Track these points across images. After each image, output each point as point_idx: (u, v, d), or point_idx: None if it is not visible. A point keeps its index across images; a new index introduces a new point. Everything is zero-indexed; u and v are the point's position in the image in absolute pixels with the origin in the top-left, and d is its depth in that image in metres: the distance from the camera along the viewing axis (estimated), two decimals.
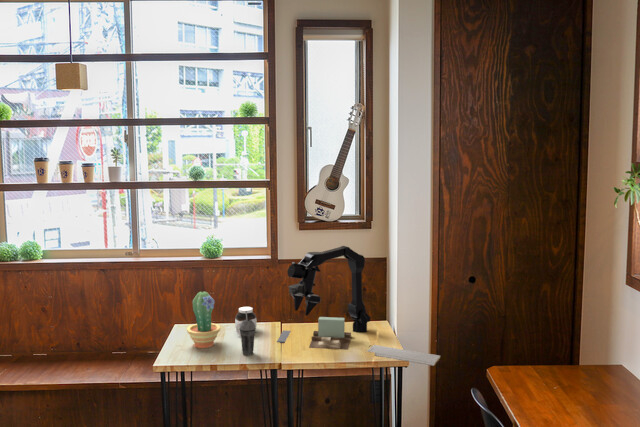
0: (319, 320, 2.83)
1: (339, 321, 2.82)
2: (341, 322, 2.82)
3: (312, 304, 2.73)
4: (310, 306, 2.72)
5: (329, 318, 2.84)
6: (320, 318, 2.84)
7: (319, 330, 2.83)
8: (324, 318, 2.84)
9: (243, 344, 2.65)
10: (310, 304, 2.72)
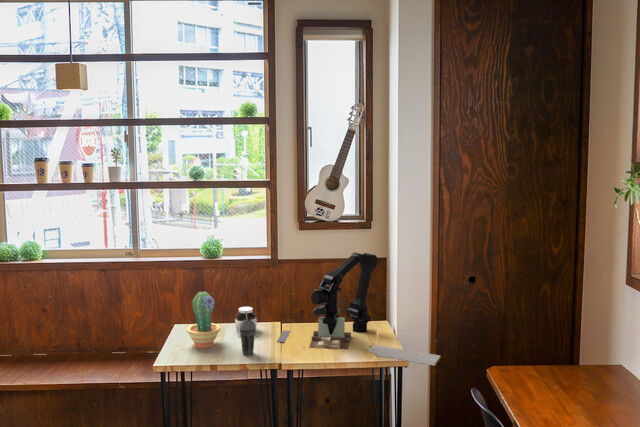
0: (319, 320, 2.83)
1: (339, 321, 2.82)
2: (341, 322, 2.82)
3: (333, 323, 2.81)
4: (331, 325, 2.81)
5: None
6: (320, 318, 2.84)
7: (319, 330, 2.83)
8: None
9: (243, 344, 2.65)
10: (331, 323, 2.81)
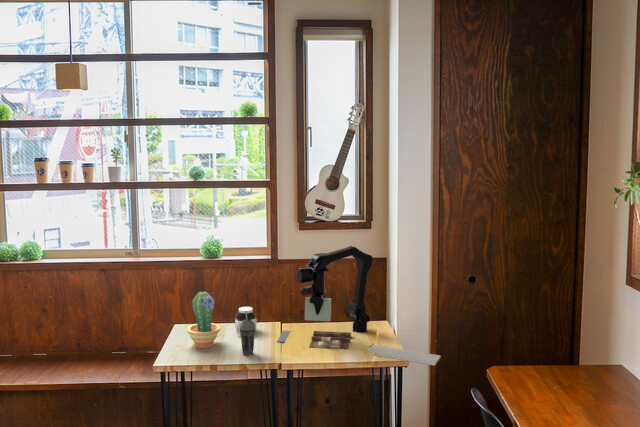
0: (306, 300, 2.83)
1: (326, 301, 2.82)
2: (328, 302, 2.82)
3: (319, 303, 2.81)
4: (318, 305, 2.81)
5: None
6: (307, 298, 2.84)
7: (305, 310, 2.83)
8: None
9: (243, 344, 2.65)
10: (317, 303, 2.81)
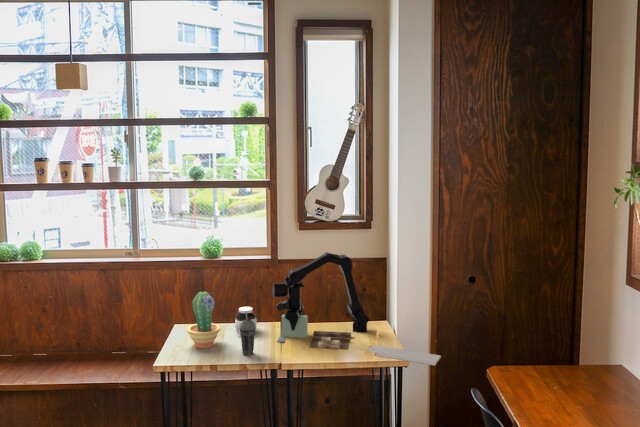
0: (282, 318, 2.87)
1: (302, 319, 2.86)
2: (304, 320, 2.86)
3: (294, 320, 2.83)
4: (293, 322, 2.83)
5: None
6: (283, 316, 2.88)
7: (282, 328, 2.88)
8: None
9: (243, 344, 2.65)
10: (293, 320, 2.83)
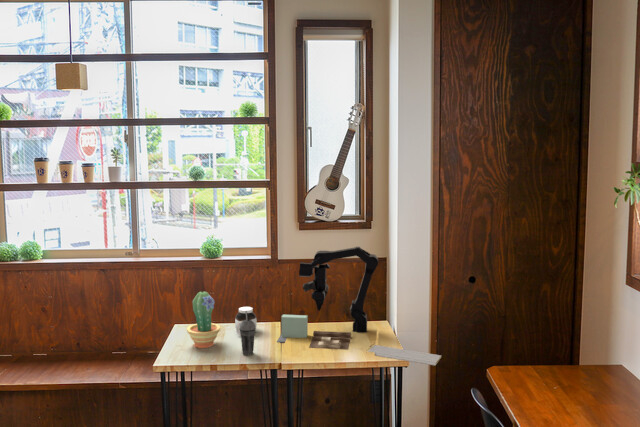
0: (282, 318, 2.87)
1: (302, 319, 2.86)
2: (304, 320, 2.86)
3: (320, 300, 2.91)
4: (319, 302, 2.91)
5: (292, 316, 2.88)
6: (283, 316, 2.88)
7: (282, 328, 2.88)
8: (287, 316, 2.88)
9: (243, 344, 2.65)
10: (319, 300, 2.91)
